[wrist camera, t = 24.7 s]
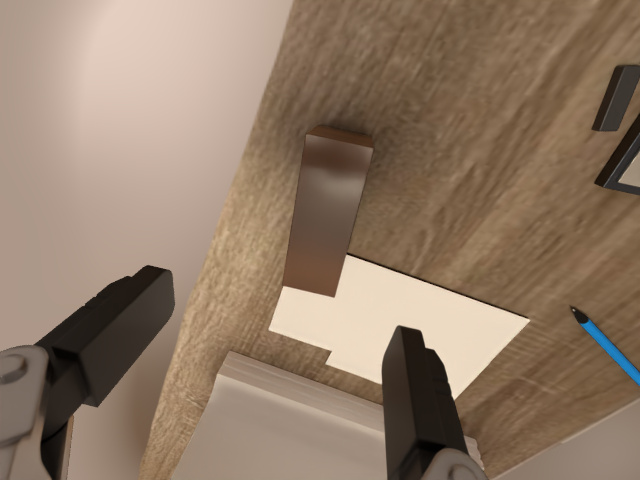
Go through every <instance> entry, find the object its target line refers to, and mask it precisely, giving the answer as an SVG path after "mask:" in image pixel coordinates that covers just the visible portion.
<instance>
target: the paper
mask: <svg viewBox="0 0 640 480" xmlns="http://www.w3.org/2000/svg"><path fill="white" fill-rule="evenodd" d="M529 321H530V320H529V319H526V318H523V317H521V316H518V315H515V314H512V313H510V312H507V311H504V310H501V309H498V308H496V307H493V306H490V305H487V304H484V303H481V302H479V301H476V300H473V299H470V298H467V297H465V296H462V295H459V294H456V293H454V292H451V291H448V290H445V289H443V288H440V287H437V286H434V285H432V284H429V283H426V282H423V281H420V280H417V279H415V278H412V277H409V276H406V275H403V274H400V273H397V272H394V271H392V270H389V269H386V268H383V267H380V266H378V265H375V264H372V263H369V262H366V261H364V260H361V259H358V258H355V257H352V256H349V255H346V257H345V261H344V265H343V269H342V272H341V276H340V280H339V284H338V287H337V291H336V295H335V298H333V297H328V296H324V295H320V294H316V293H311V292H307V291H303V290H299V289H294V288H290V287H286V286H283V289H282V292H281V295H280V298H279V301H278V304H277V307H276V310H275V313H274V315H273V318H272V321H271V324H270V327H269V330H270V331H273V332H276V333H279V334H282V335H285V336H288V337H291V338H294V339H296V340H299V341H302V342H305V343H308V344H312V345H315V346H318V347H321V348H324V349H327V350H330V351H332V352H331V354H330V356H329V358H328V360H327V362H326V363H325V364H327V365H330V366H333V367H335V368H338V369H341V370H344V371H347V372H350V373H352V374H355V375H358V376H360V377H363V378H366V379H368V380H371V381H373V382H376V383H379V384H381V385H382V374H381V369H382V361H383V357H384V354H385V351H386V349H387V347H388V344H389V342H390V340H391V338H392V335H393V333H394V331H395V328H396V327H397V326H398V325H401V326H405V327H409V328H414V329H418V330H421V332H422V334H423V339H424V343H425V348H429V349H433V350H435V352H436V353H437V355H438V356H439V358H440V359H441V361H442V362H443V364H444V366H445V370H446V373H447V377H448V383H449V384H450V388H451V391H452V397H453V399H454V400H455V399H456V398H457V397H458V396H459V395H460V394H461V393H462V392H463V390H464V389H465V388H466V387H467V386H468V385H469V384H470V383H471V382H472V381H473V380H474V379H475V378H476V377H477V376H478V375H479V374H480V373H481V372H482V371H483V370H484V369H485V368H486V367H487V366H488V364H489V363H490V362H491V360H492V359H493V358H494V357H495V356H496V355H497V354H498V353H499V352H500V351H501V350H502V349H503V348H504V347H505V346H506V345H507V344H508V343H509V342H510V341H511V340H512V339H513V338H514V337H515V336H516V335H517V334H518V333H519V331H520V330H521V329H522V328H523V327H524V326H525V325H526V324H527V323H528V322H529Z"/></svg>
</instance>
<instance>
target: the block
mask: <svg viewBox="0 0 640 480" xmlns="http://www.w3.org/2000/svg"><path fill="white" fill-rule="evenodd" d="M464 439H465V442H466V446H467V449H468V452H469V455H470V457H471V458H472V459H473V460H474V461H475V462H476V463H477V464H478V465H479V466H480V467H481V468H482V470H484V469H485V468H484V465H483V462H482V461H481V460H480V457H481V456H480V452H479V450H477V443H476V440H475V439H473V438H470V437H468V436H465V435H464ZM170 480H387V466H386V448H385V429H384V411H383V406H382V405H379V404H377V403H374V402H371V401H368V400H366V399H363V398H360V397H357V396H354V395H352V394H349V393H346V392H343V391H341V390H338V389H335V388H332V387H330V386H327V385H324V384H321V383H319V382H316V381H313V380H310V379H308V378H305V377H302V376H299V375H296V374H294V373H291V372H288V371H285V370H283V369H280V368H277V367H274V366H272V365H269V364H266V363H263V362H261V361H258V360H255V359H252V358H250V357H247V356H244V355H241V354H239V353H236V352H233V351H230V350H229V352H228V354H227V356H226V358H225V360H224V362H223V364H222V366H221V368H220V370H219V371H218V373H217V377H216V380H215V384H214V387H213V391H212V394H211V396H210V399H209V401H208V403H207V406H206V408H205V410H204V412H203V414H202V416H201V418H200V420H199V422H198V424H197V426H196V428H195V430H194V432H193V434H192V436H191V438H190V440H189V442H188V444H187V446H186V448H185V450H184V452H183V454H182V456H181V459H180V461H179V463H178V465H177V467H176V469H175V471H174V473H173V475H172V477H171V479H170Z"/></svg>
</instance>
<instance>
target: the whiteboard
mask: <svg viewBox="0 0 640 480" xmlns="http://www.w3.org/2000/svg"><path fill="white" fill-rule="evenodd" d="M595 184H596V185H599V186H601V187H604V188H608V189H613V190H617V191H622V192H627V193H631V194H636V195H640V115H639V116H638V118H637V120H636V121H635V123H634V124H633V126H632V127H631V129H630V130H629V132H628V133H627V135H626V136H625V138H624V139H623V141H622V142H621V144H620V145H619V147H618V148H617V150H616V151H615V153H614V154H613V156H612V157H611V159H610V160H609V162H608V163H607V165H606V166H605V168H604V169H603V171H602V172H601V174H600V176H599V177H598V179H597V180H596V182H595Z"/></svg>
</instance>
